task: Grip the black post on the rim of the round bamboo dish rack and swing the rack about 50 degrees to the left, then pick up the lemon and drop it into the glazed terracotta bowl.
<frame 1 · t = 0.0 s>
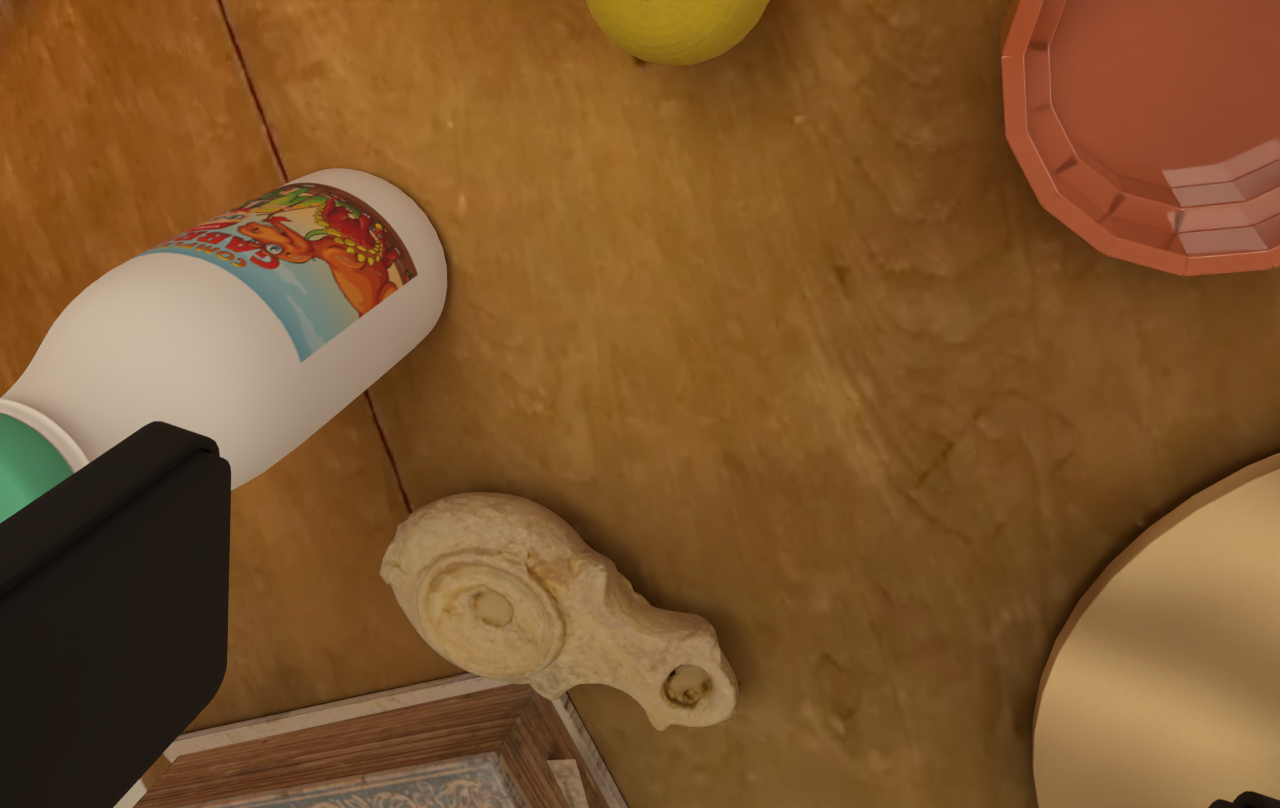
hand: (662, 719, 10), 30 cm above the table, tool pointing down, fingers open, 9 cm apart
milk bottle: (366, 259, 44), on the table
oil lamp: (579, 566, 48), on the table
bowl: (1200, 39, 33), on the table
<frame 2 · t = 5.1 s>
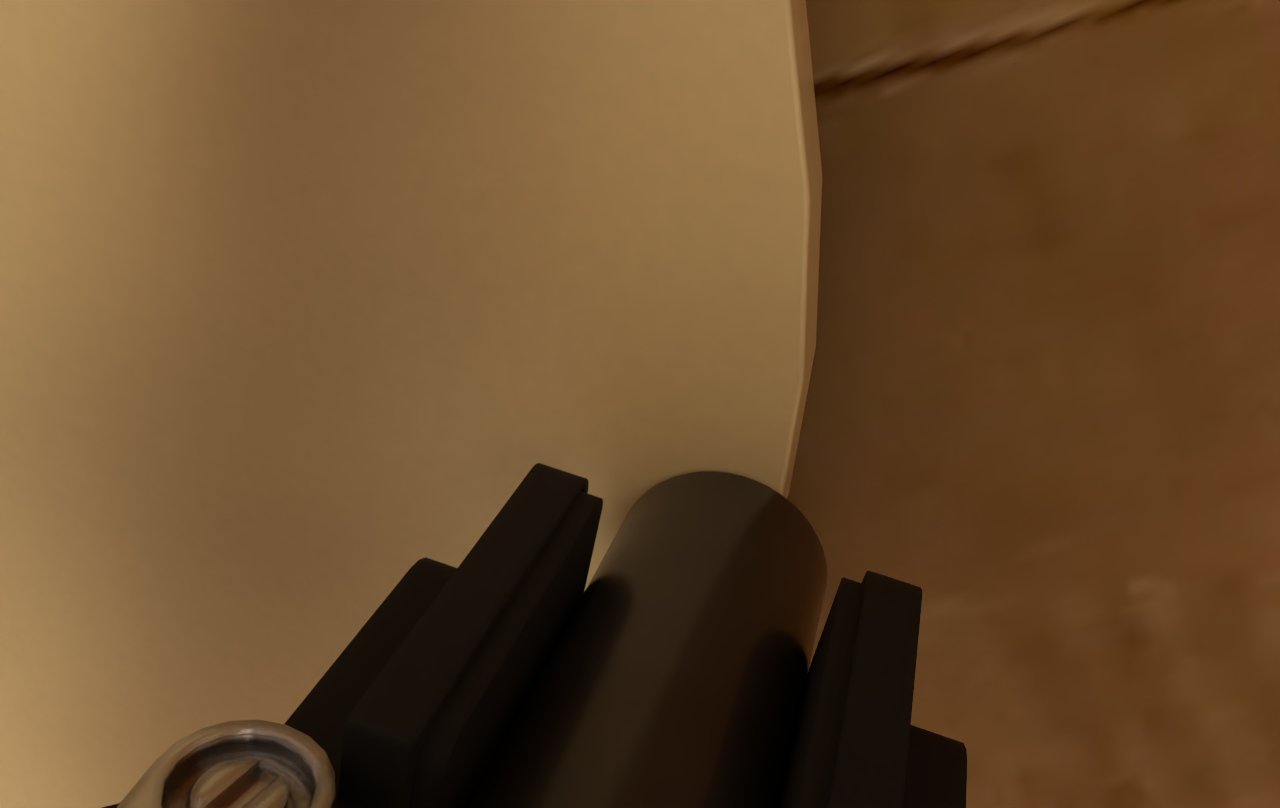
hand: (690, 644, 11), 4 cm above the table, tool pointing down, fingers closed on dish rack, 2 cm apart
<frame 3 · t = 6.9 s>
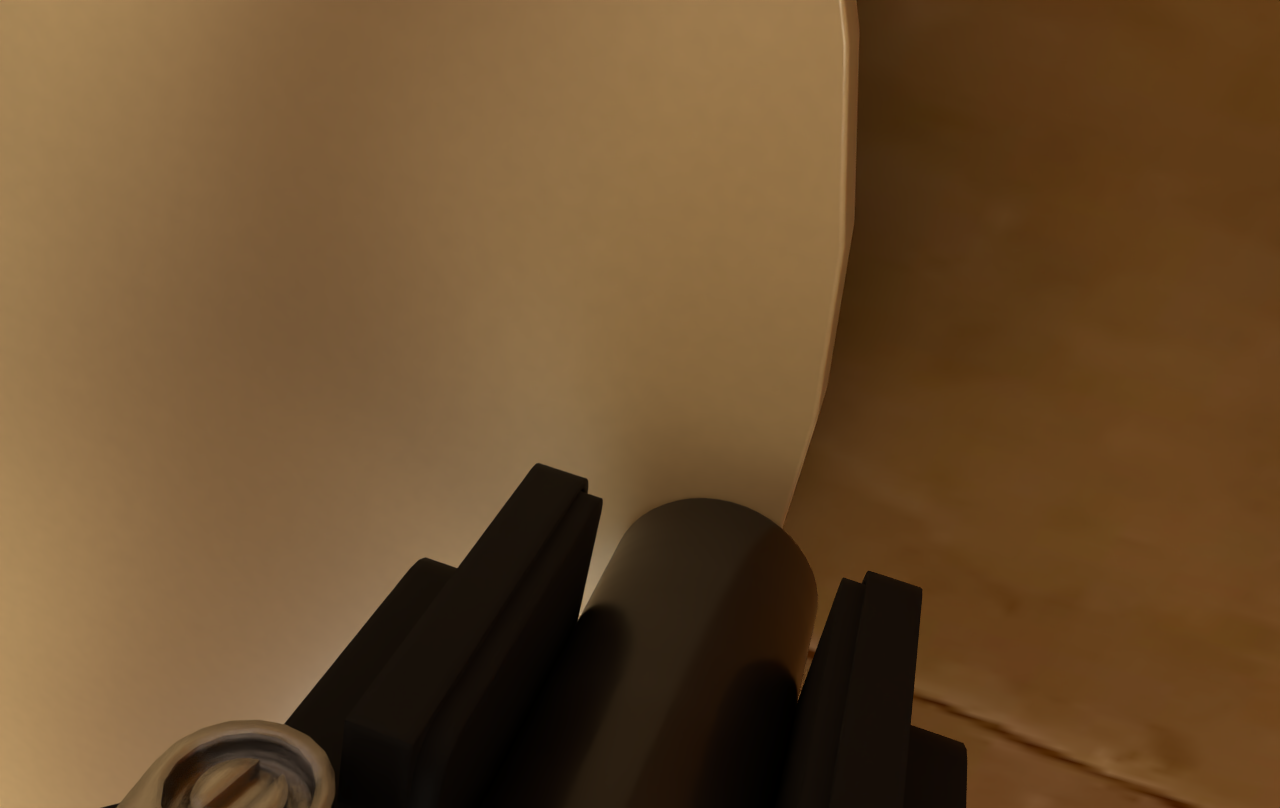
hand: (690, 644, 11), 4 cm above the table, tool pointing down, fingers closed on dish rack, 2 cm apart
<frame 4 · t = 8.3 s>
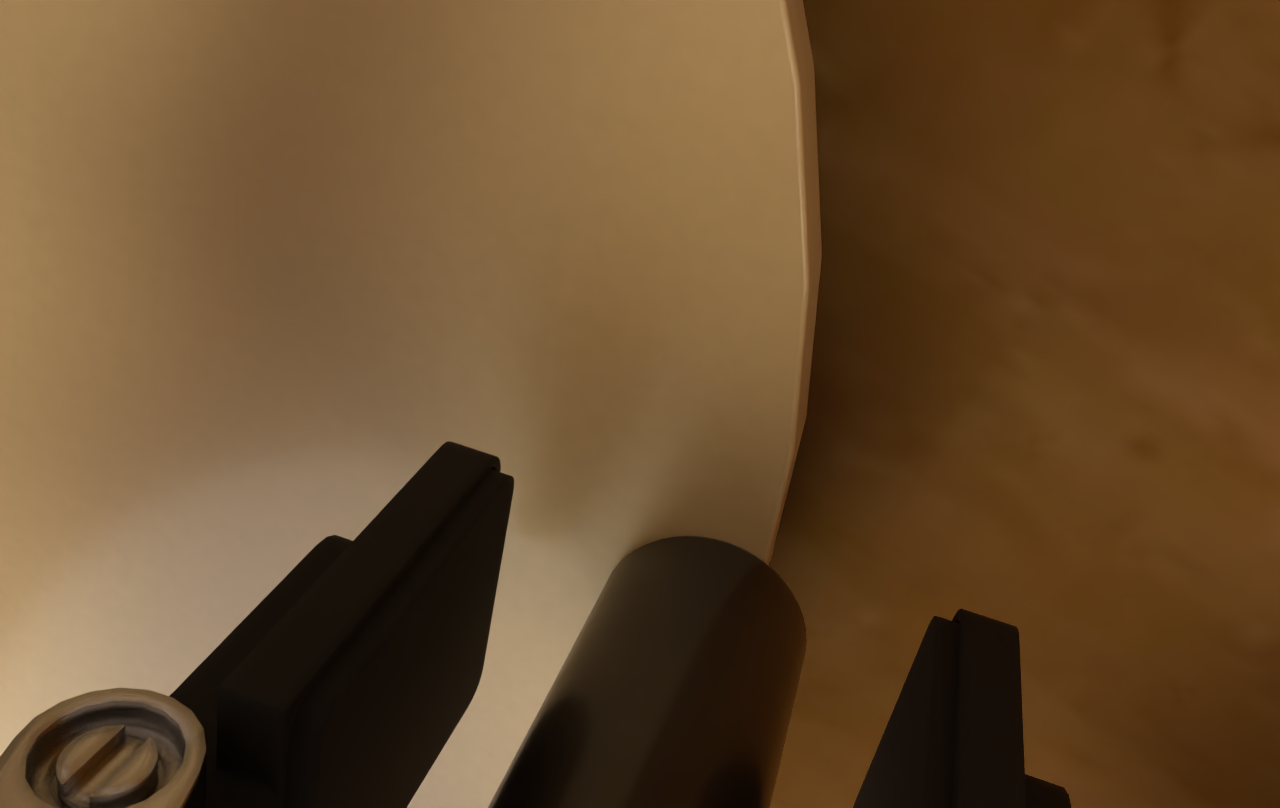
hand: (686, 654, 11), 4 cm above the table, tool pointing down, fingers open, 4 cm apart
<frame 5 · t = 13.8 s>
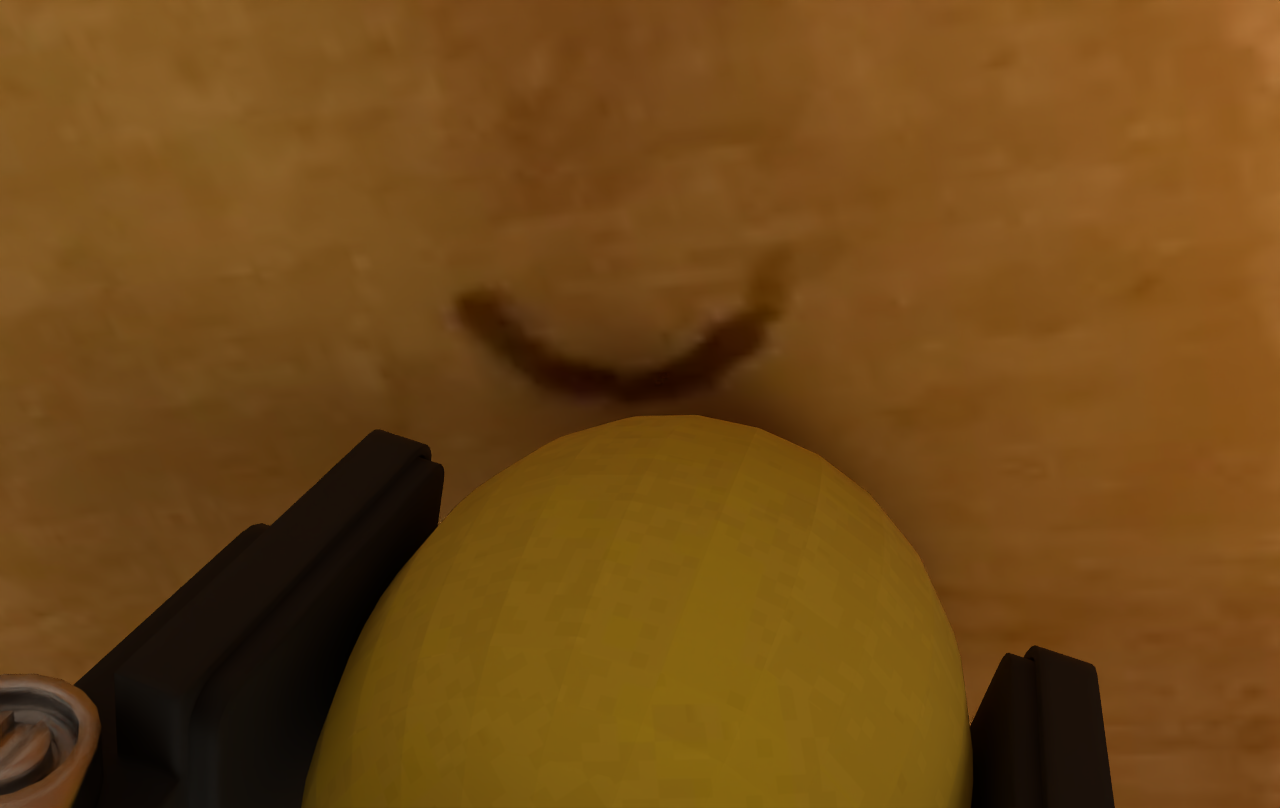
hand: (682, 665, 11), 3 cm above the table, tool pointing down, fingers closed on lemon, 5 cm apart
lemon: (742, 507, 14), on the table, touching gripper
when the fingers open (4 cm above the table, at t = 20.4 s): lemon stays where it is, resting on bowl.
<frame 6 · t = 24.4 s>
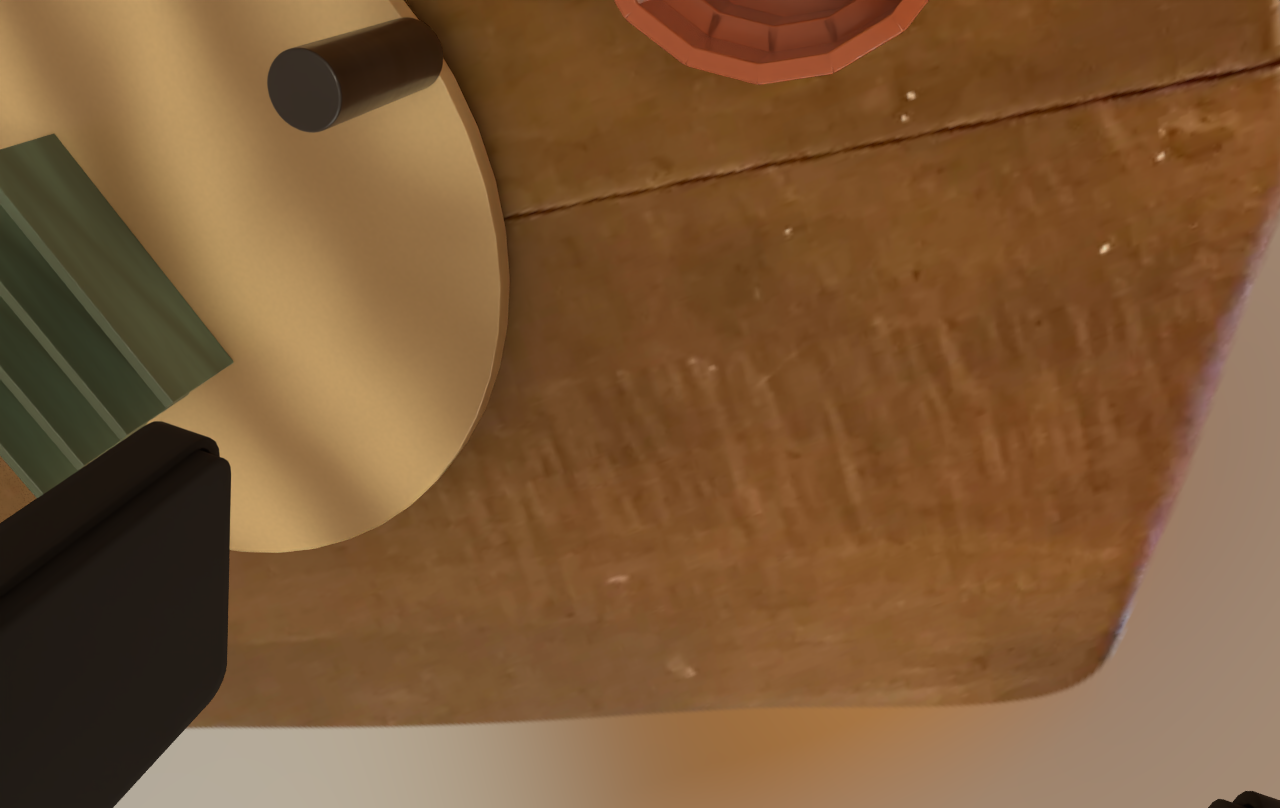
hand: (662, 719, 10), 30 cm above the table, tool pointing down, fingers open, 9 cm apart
dish rack: (111, 260, 42), point 5 cm above the table, hinge at 46.9°
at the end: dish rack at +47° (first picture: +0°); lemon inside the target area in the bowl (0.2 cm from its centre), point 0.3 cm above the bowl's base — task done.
